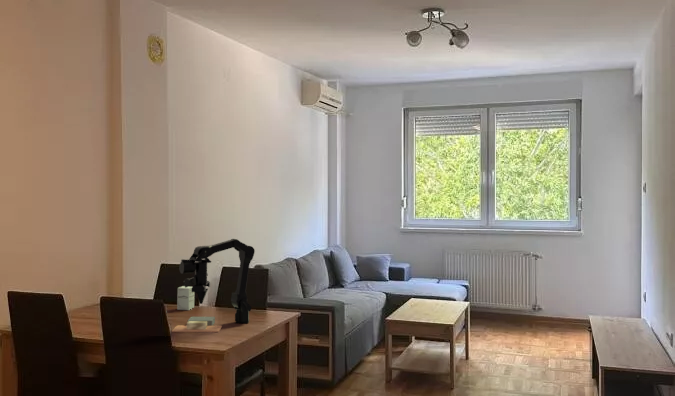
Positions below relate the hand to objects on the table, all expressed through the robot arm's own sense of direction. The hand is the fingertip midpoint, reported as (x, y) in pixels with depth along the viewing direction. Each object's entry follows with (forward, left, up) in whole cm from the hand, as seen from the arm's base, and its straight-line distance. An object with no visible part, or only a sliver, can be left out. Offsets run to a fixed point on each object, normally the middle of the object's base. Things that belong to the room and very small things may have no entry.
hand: (201, 303), depth 302 cm
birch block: (+1, +5, -10) cm, 11 cm away
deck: (+1, -7, -12) cm, 14 cm away
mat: (+1, +4, -12) cm, 12 cm away
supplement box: (+17, -49, -12) cm, 53 cm away
